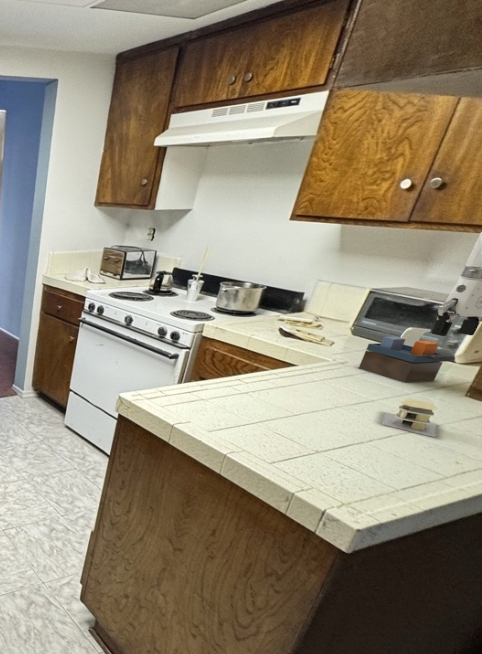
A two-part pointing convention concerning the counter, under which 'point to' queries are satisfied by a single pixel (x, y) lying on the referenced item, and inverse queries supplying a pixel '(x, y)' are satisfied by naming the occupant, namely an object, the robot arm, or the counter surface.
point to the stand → (399, 367)
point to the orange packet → (424, 348)
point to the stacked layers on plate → (413, 417)
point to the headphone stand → (413, 335)
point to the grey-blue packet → (393, 343)
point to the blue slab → (406, 355)
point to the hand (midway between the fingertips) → (452, 334)
